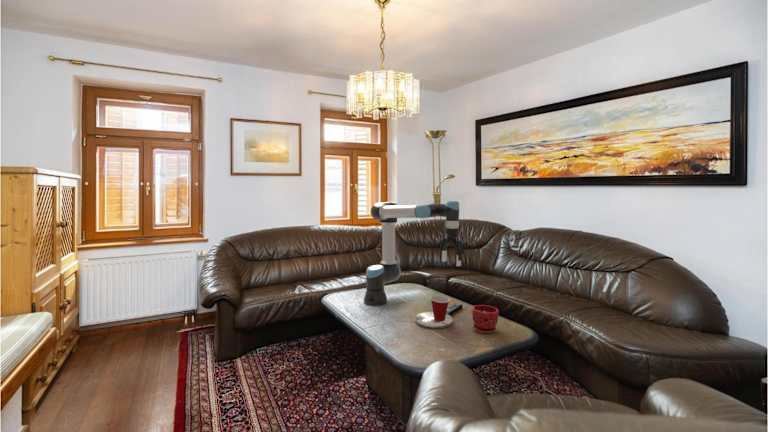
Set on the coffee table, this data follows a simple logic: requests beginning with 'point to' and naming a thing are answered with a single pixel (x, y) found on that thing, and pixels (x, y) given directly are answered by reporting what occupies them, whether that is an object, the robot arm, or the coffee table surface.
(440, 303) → the plastic cup
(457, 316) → the coffee table surface
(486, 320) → the plant pot
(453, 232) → the robot arm
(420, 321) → the disc
